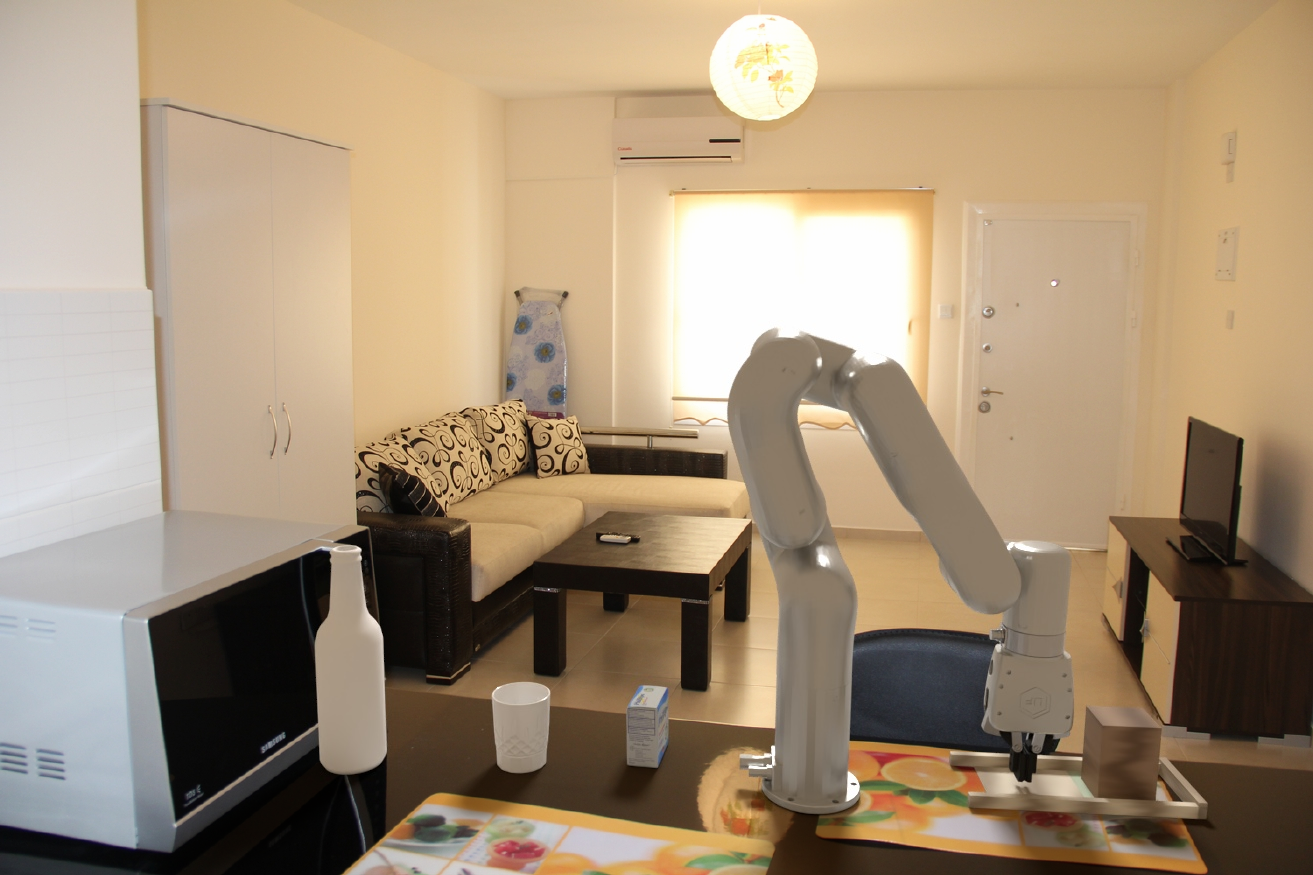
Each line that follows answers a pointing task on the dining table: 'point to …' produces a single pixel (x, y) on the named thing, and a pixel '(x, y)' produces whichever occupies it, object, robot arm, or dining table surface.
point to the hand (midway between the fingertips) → (1021, 776)
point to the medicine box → (647, 726)
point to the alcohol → (350, 673)
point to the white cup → (521, 726)
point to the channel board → (1069, 788)
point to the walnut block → (1120, 753)
